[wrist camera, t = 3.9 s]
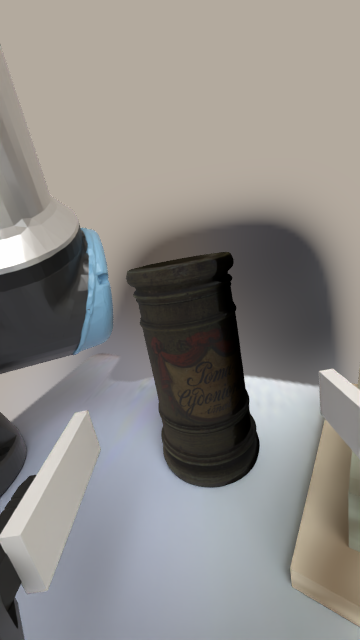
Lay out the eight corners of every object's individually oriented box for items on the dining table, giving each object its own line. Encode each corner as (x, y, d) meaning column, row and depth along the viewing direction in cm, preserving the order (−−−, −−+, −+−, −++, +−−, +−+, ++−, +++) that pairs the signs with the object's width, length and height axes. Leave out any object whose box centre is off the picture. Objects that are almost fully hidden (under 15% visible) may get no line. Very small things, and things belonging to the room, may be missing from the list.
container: (152, 441, 27) (109, 272, 22) (222, 407, 31) (197, 253, 26) (193, 512, 19) (140, 273, 14) (281, 455, 23) (262, 246, 18)
